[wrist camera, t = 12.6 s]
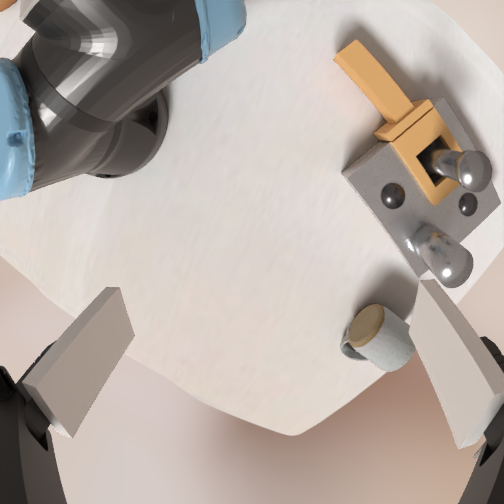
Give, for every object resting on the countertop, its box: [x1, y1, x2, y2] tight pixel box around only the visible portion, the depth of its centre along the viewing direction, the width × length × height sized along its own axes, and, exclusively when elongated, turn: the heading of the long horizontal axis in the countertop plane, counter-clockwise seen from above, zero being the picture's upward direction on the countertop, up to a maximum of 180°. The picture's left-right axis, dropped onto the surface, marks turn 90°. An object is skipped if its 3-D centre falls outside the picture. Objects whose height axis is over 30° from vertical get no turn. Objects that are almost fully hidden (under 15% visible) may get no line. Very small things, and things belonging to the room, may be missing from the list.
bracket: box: [333, 39, 462, 206], centre depth 29 cm, size 20×7×5 cm, turn 43°
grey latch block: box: [341, 97, 501, 288], centre depth 29 cm, size 16×16×12 cm
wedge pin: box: [416, 146, 492, 193], centre depth 27 cm, size 4×4×13 cm
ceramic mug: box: [340, 304, 416, 372], centre depth 39 cm, size 11×8×8 cm
